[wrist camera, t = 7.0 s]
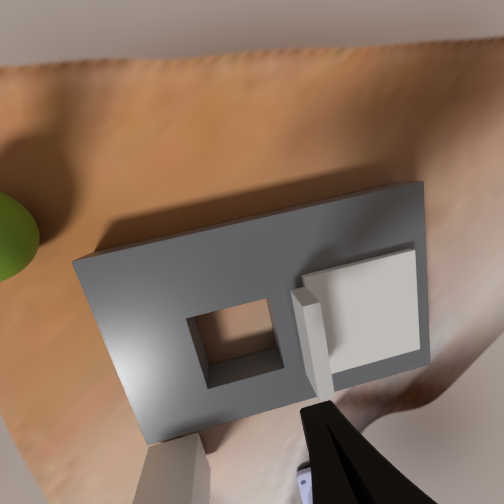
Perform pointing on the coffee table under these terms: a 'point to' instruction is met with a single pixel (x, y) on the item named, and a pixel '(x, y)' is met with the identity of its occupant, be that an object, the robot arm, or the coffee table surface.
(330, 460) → the robot arm
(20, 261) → the snail figurine
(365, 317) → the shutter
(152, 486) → the plug
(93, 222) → the coffee table surface
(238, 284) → the socket plate
